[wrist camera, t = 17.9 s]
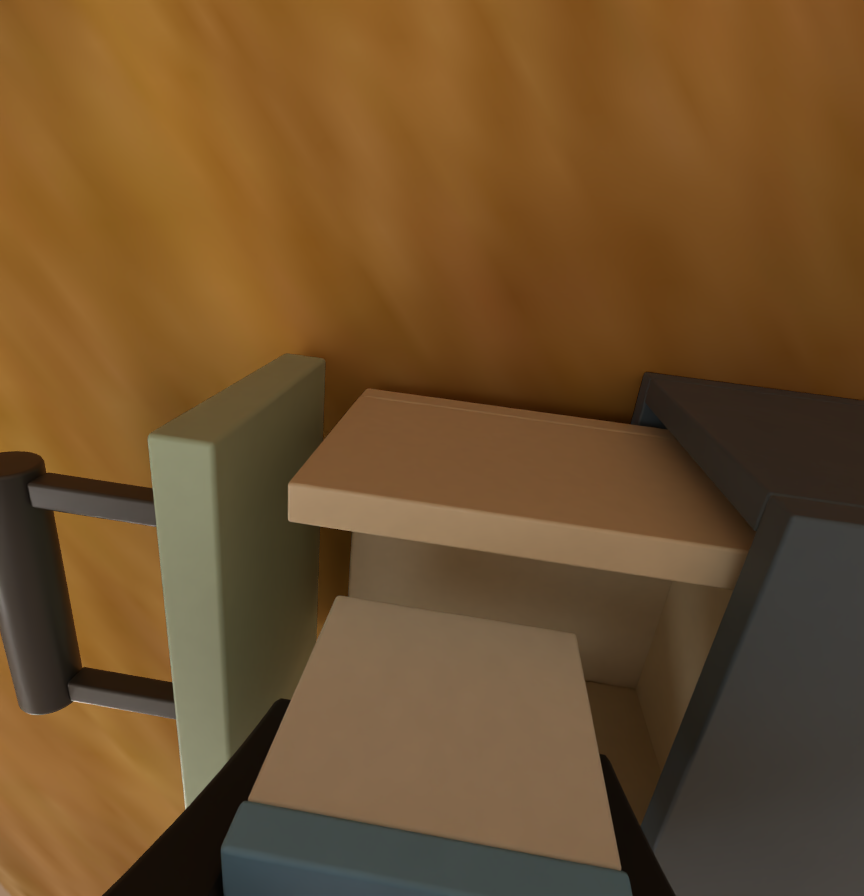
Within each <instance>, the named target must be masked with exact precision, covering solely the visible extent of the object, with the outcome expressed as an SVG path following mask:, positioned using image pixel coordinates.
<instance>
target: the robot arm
mask: <svg viewBox="0 0 864 896" xmlns="http://www.w3.org/2000/svg"><path fill="white" fill-rule="evenodd" d="M290 701H291V700H289V699H283V698H280V699H279V700H277V701H275V702H274V703H273V705H272V706H271V707H270V709H269V710H268V712H267V713H266V714H265V716H264V717H263V718H262V719H261V721H260V722H259V723H258V725H257V726H256V727H255V728H254V730H253V731H252V732H251V734H250V735H249V736H248V737H247V739H246V740H245V741H244V742H243V744H242V745H241V746H240V747H239V748H238V750H237V751H236V752H235V753H234V754H233V756H232V757H231V758H230V759H229V760H228V762H227V763H226V764H225V765H224V766H223V768H222V769H221V770H220V771H219V772H218V773H217V775H216V776H215V777H214V778H213V779H212V780H211V781H210V782H209V784H208V785H207V786H206V787H205V788H204V789H203V790H202V792H201V793H200V794H199V795H198V796H197V797H196V798H195V799H194V801H193V802H192V803H191V804H190V805H189V806H188V807H187V809H186V810H185V811H184V812H183V813H182V814H181V815H180V816H179V817H178V818H177V819H176V821H175V822H174V823H173V824H172V825H171V826H170V827H169V828H168V829H167V830H166V831H165V832H164V833H163V834H162V835H161V836H160V837H159V838H158V839H157V840H156V841H155V843H154V844H153V845H152V846H151V847H150V848H149V849H148V850H147V851H146V852H145V853H144V854H143V855H142V856H141V857H140V858H139V859H138V860H137V861H136V862H135V863H134V864H133V865H132V866H131V868H130V869H129V870H128V871H127V872H126V873H125V874H124V875H123V876H122V877H121V878H120V879H119V880H118V881H117V882H116V883H114V884H113V885H112V886H111V887H110V888H109V889H108V890H107V891H106V892H105V893H104V894H103V895H102V896H224V893H223V879H222V864H221V846H222V844H223V841H224V839H225V837H226V835H227V832H228V830H229V828H230V826H231V823H232V821H233V819H234V817H235V814H236V812H237V810H238V808H239V806H240V804H241V803H242V802H243V801H248V798H249V795H250V793H251V791H252V788H253V786H254V784H255V781H256V779H257V777H258V775H259V772H260V770H261V768H262V765H263V763H264V761H265V759H266V756H267V754H268V752H269V749H270V747H271V745H272V742H273V740H274V738H275V736H276V733H277V731H278V729H279V726H280V724H281V722H282V720H283V717H284V715H285V713H286V710H287V708H288V706H289V704H290ZM599 756H600V761H601V766H602V771H603V776H604V782H605V787H606V792H607V797H608V802H609V807H610V812H611V817H612V823H613V828H614V833H615V838H616V843H617V848H618V853H619V858H620V864H621V871H624V872H625V873H627V875H628V877H629V881H630V885H631V890H632V895H633V896H676V895H675V893H674V891H673V889H672V887H671V885H670V883H669V882H668V880H667V878H666V876H665V874H664V872H663V870H662V868H661V866H660V865H659V863H658V861H657V859H656V857H655V855H654V853H653V851H652V849H651V847H650V845H649V843H648V841H647V839H646V837H645V835H644V833H643V831H642V829H641V827H640V825H639V823H638V821H637V818H636V816H635V814H634V812H633V810H632V808H631V806H630V804H629V802H628V800H627V797H626V795H625V793H624V791H623V789H622V787H621V784H620V782H619V780H618V778H617V776H616V773H615V771H614V769H613V767H612V764H611V762H610V760H609V759H608V758H607V756H606V755H603V754H599Z"/></svg>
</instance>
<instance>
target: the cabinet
mask: <svg viewBox="0 0 864 896" xmlns="http://www.w3.org/2000/svg"><path fill="white" fill-rule="evenodd" d="M631 425H638V426H646V427H653V428H660V429H667V430H669V431H670V433H671V434H672V435H673V436H674V437H675V438H676V440H677V441H678V442H679V443H680V444H681V445H682V447H683V448H684V449H685V450H686V451H687V452H688V454H689V455H690V456H691V457H692V458H693V459H694V461H695V462H696V463H697V464H698V465H699V467H700V468H701V469H702V470H703V471H704V472H705V474H706V475H707V476H708V477H709V478H710V479H711V481H712V482H713V483H714V484H715V485H716V486H717V488H718V489H719V490H720V491H721V492H722V494H723V495H724V496H725V497H726V498H727V499H728V501H729V502H730V503H731V504H732V505H733V506H734V508H735V509H736V510H737V511H738V512H739V513H740V515H741V516H742V517H743V518H744V519H745V520H746V522H747V523H748V524H749V525H750V526H751V528H752V529H753V530H755V531H756V534H755V536H754V539H753V542H752V544H751V547H750V549H749V552H748V554H747V557H746V559H745V562H744V564H743V567H742V569H741V572H740V575H739V577H738V580H737V582H736V585H735V587H734V590H733V592H732V595H731V597H730V600H729V603H728V605H727V608H726V610H725V613H724V615H723V618H722V620H721V623H720V625H719V628H718V630H717V633H716V636H715V638H714V641H713V643H712V646H711V648H710V651H709V653H708V656H707V658H706V661H705V663H704V666H703V669H702V671H701V674H700V676H699V679H698V681H697V684H696V686H695V689H694V691H693V694H692V696H691V699H690V702H689V704H688V707H687V709H686V712H685V714H684V717H683V719H682V722H681V724H680V727H679V729H678V732H677V735H676V737H675V740H674V742H673V745H672V747H671V750H670V752H669V755H668V757H667V760H666V762H665V765H664V768H663V770H662V773H661V775H660V778H659V780H658V783H657V785H656V788H655V790H654V793H653V795H652V798H651V801H650V803H649V806H648V808H647V811H646V813H645V816H644V818H643V821H642V823H641V826H640V827H641V829H642V831H643V833H644V835H645V837H646V839H647V841H648V843H649V845H650V847H651V849H652V851H653V853H654V855H655V857H656V859H657V861H658V863H659V865H660V866H661V868H662V870H663V872H664V874H665V876H666V878H667V880H668V882H669V883H670V885H671V887H672V889H673V891H674V893H675V895H676V896H864V401H862V400H855V399H847V398H839V397H832V396H824V395H816V394H809V393H801V392H794V391H786V390H778V389H771V388H763V387H756V386H748V385H740V384H733V383H725V382H717V381H710V380H702V379H695V378H687V377H679V376H672V375H664V374H657V373H649V372H646V373H644V376H643V379H642V383H641V387H640V391H639V394H638V398H637V402H636V406H635V409H634V413H633V417H632V421H631Z"/></svg>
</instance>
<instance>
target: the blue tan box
mask: <svg viewBox="0 0 864 896" xmlns="http://www.w3.org/2000/svg"><path fill="white" fill-rule="evenodd" d="M221 864H222V879H223V893H224V896H633V895H632V890H631V885H630V881H629V877H628V875H627V873H625V872H624V871H621V864H620V858H619V853H618V848H617V843H616V838H615V833H614V828H613V823H612V817H611V812H610V807H609V802H608V797H607V792H606V787H605V782H604V776H603V771H602V766H601V761H600V756H599V751H598V746H597V741H596V735H595V730H594V725H593V720H592V715H591V710H590V705H589V700H588V694H587V689H586V684H585V679H584V674H583V669H582V664H581V658H580V653H579V648H578V643H577V638H576V635H575V634H574V633H569V632H563V631H557V630H550V629H544V628H538V627H532V626H526V625H519V624H513V623H507V622H501V621H495V620H489V619H482V618H476V617H470V616H464V615H458V614H451V613H445V612H439V611H433V610H427V609H420V608H414V607H408V606H402V605H396V604H389V603H383V602H377V601H371V600H365V599H358V598H352V597H346V596H337V597H336V598H335V600H334V603H333V605H332V607H331V610H330V612H329V614H328V616H327V619H326V621H325V623H324V626H323V628H322V630H321V632H320V635H319V637H318V639H317V642H316V644H315V646H314V649H313V651H312V653H311V655H310V658H309V660H308V662H307V665H306V667H305V669H304V671H303V674H302V676H301V678H300V681H299V683H298V685H297V687H296V690H295V692H294V694H293V697H292V699H291V701H290V704H289V706H288V708H287V710H286V713H285V715H284V717H283V720H282V722H281V724H280V726H279V729H278V731H277V733H276V736H275V738H274V740H273V742H272V745H271V747H270V749H269V752H268V754H267V756H266V759H265V761H264V763H263V765H262V768H261V770H260V772H259V775H258V777H257V779H256V781H255V784H254V786H253V788H252V791H251V793H250V795H249V798H248V801H243V802H242V803H241V804H240V806H239V808H238V810H237V812H236V814H235V817H234V819H233V821H232V823H231V826H230V828H229V830H228V832H227V835H226V837H225V839H224V841H223V844H222V846H221Z"/></svg>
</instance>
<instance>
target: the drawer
mask: <svg viewBox="0 0 864 896" xmlns="http://www.w3.org/2000/svg"><path fill="white" fill-rule="evenodd" d="M324 393H325V359H323V358H317V357H309V356H302V355H294V354H284V355H282V356H280V357H279V358H277V359H275V360H273V361H272V362H270V363H268V364H267V365H265V366H263V367H262V368H260V369H258V370H257V371H255V372H253V373H251V374H250V375H248V376H246V377H245V378H243V379H241V380H240V381H238V382H236V383H234V384H233V385H231V386H229V387H228V388H226V389H224V390H223V391H221V392H219V393H218V394H216V395H214V396H212V397H211V398H209V399H207V400H206V401H204V402H202V403H201V404H199V405H197V406H195V407H194V408H192V409H190V410H189V411H187V412H185V413H184V414H182V415H180V416H179V417H177V418H175V419H173V420H172V421H170V422H168V423H167V424H165V425H163V426H162V427H160V428H158V429H156V430H155V431H153V432H151V433H150V434H149V435H148V447H149V457H150V467H151V477H152V487H153V488H146V487H140V486H133V485H127V484H120V483H114V482H107V481H101V480H94V479H88V478H81V477H74V476H68V475H61V474H55V473H46V469H45V463H44V460H43V459H42V457H41V456H39V455H37V454H35V453H30V452H21V451H14V452H1V453H0V632H1V636H2V640H3V644H4V648H5V652H6V656H7V660H8V664H9V668H10V672H11V676H12V680H13V684H14V688H15V692H16V696H17V700H18V704H19V707H20V708H21V709H22V710H23V711H24V712H26V713H28V714H32V715H44V714H49V713H53V712H56V711H58V710H60V709H62V708H64V707H66V706H68V705H69V704H71V703H72V702H73V701H76V702H82V703H87V704H93V705H98V706H104V707H110V708H115V709H121V710H126V711H132V712H138V713H143V714H149V715H154V716H160V717H165V718H171V719H176V722H177V732H178V742H179V751H180V761H181V771H182V781H183V791H184V800H185V810H186V809H187V807H188V806H189V805H190V804H191V803H192V802H193V801H194V799H195V798H196V797H197V796H198V795H199V794H200V793H201V792H202V790H203V789H204V788H205V787H206V786H207V785H208V784H209V782H210V781H211V780H212V779H213V778H214V777H215V776H216V775H217V773H218V772H219V771H220V770H221V769H222V768H223V766H224V765H225V764H226V763H227V762H228V760H229V759H230V758H231V757H232V756H233V754H234V753H235V752H236V751H237V750H238V748H239V747H240V746H241V745H242V744H243V742H244V741H245V740H246V739H247V737H248V736H249V735H250V734H251V732H252V731H253V730H254V728H255V727H256V726H257V725H258V723H259V722H260V721H261V719H262V718H263V717H264V716H265V714H266V713H267V712H268V710H269V709H270V707H271V706H272V705H273V703H274V702H275V701H277V700H279V699H280V698H283V699H289V700H291V699H292V697H293V694H294V692H295V690H296V687H297V685H298V683H299V681H300V678H301V676H302V674H303V671H304V669H305V667H306V665H307V662H308V660H309V658H310V655H311V653H312V651H313V649H314V646H315V644H316V637H317V606H318V576H319V545H320V527H327V528H333V529H340V530H346V531H352V536H351V553H350V570H349V587H348V597H352V598H358V599H365V600H371V601H377V602H383V603H389V604H396V605H402V606H408V607H414V608H420V609H427V610H433V611H439V612H445V613H451V614H458V615H464V616H470V617H476V618H482V619H489V620H495V621H501V622H507V623H513V624H519V625H526V626H532V627H538V628H544V629H550V630H557V631H563V632H569V633H574V634H575V635H576V638H577V643H578V648H579V653H580V658H581V664H582V669H583V674H584V679H585V684H586V689H587V694H588V700H589V705H590V710H591V715H592V720H593V725H594V730H595V735H596V741H597V746H598V751H599V754H603V755H606V756H607V758H608V759H609V760H610V762H611V764H612V767H613V769H614V771H615V773H616V776H617V778H618V780H619V782H620V784H621V787H622V789H623V791H624V793H625V795H626V797H627V800H628V802H629V804H630V806H631V808H632V810H633V812H634V814H635V816H636V818H637V821H638V823H639V825H640V826H641V823H642V821H643V818H644V816H645V813H646V811H647V808H648V806H649V803H650V801H651V798H652V795H653V793H654V790H655V788H656V785H657V783H658V780H659V778H660V775H661V773H662V770H663V768H664V765H665V762H666V760H667V757H668V755H669V752H670V750H671V747H672V745H673V742H674V740H675V737H676V735H677V732H678V729H679V727H680V724H681V722H682V719H683V717H684V714H685V712H686V709H687V707H688V704H689V702H690V699H691V696H692V694H693V691H694V689H695V686H696V684H697V681H698V679H699V676H700V674H701V671H702V669H703V666H704V663H705V661H706V658H707V656H708V653H709V651H710V648H711V646H712V643H713V641H714V638H715V636H716V633H717V630H718V628H719V625H720V623H721V620H722V618H723V615H724V613H725V610H726V608H727V605H728V603H729V600H730V597H731V595H732V592H733V590H734V587H735V585H736V582H737V580H738V577H739V575H740V572H741V569H742V567H743V564H744V562H745V559H746V557H747V554H748V552H749V549H750V547H751V544H752V542H753V539H754V536H755V534H756V531H755V530H753V529H752V528H751V526H750V525H749V524H748V523H747V522H746V520H745V519H744V518H743V517H742V516H741V515H740V513H739V512H738V511H737V510H736V509H735V508H734V506H733V505H732V504H731V503H730V502H729V501H728V499H727V498H726V497H725V496H724V495H723V494H722V492H721V491H720V490H719V489H718V488H717V486H716V485H715V484H714V483H713V482H712V481H711V479H710V478H709V477H708V476H707V475H706V474H705V472H704V471H703V470H702V469H701V468H700V467H699V465H698V464H697V463H696V462H695V461H694V459H693V458H692V457H691V456H690V455H689V454H688V452H687V451H686V450H685V449H684V448H683V447H682V445H681V444H680V443H679V442H678V441H677V440H676V438H675V437H674V436H673V435H672V434H671V433H670V431H669V430H667V429H660V428H653V427H646V426H638V425H631V424H624V423H617V422H609V421H602V420H595V419H587V418H580V417H573V416H566V415H558V414H551V413H544V412H536V411H529V410H522V409H515V408H507V407H500V406H493V405H485V404H478V403H471V402H464V401H456V400H449V399H442V398H435V397H427V396H420V395H413V394H405V393H398V392H391V391H384V390H376V389H369V388H368V389H366V390H365V391H364V392H363V393H362V395H361V396H360V397H359V398H358V399H357V400H356V401H355V402H354V404H353V405H352V406H351V407H350V409H349V410H348V411H347V412H346V413H345V415H344V416H343V417H342V418H341V420H340V421H339V422H338V423H337V424H336V426H335V427H334V428H333V429H332V430H331V432H330V433H329V434H328V435H327V437H326V438H325V439H324V440H323V423H324ZM53 511H59V512H65V513H72V514H78V515H84V516H91V517H97V518H103V519H110V520H116V521H123V522H129V523H135V524H142V525H148V526H154V527H157V536H158V546H159V555H160V565H161V575H162V585H163V595H164V604H165V614H166V624H167V634H168V644H169V653H170V663H171V673H172V682H167V681H161V680H156V679H150V678H144V677H138V676H133V675H127V674H121V673H116V672H110V671H104V670H98V669H93V668H87V667H83V668H82V664H81V658H80V653H79V647H78V642H77V636H76V631H75V626H74V620H73V615H72V609H71V604H70V599H69V593H68V588H67V582H66V577H65V571H64V566H63V561H62V555H61V550H60V544H59V539H58V534H57V528H56V523H55V517H54V512H53Z"/></svg>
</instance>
